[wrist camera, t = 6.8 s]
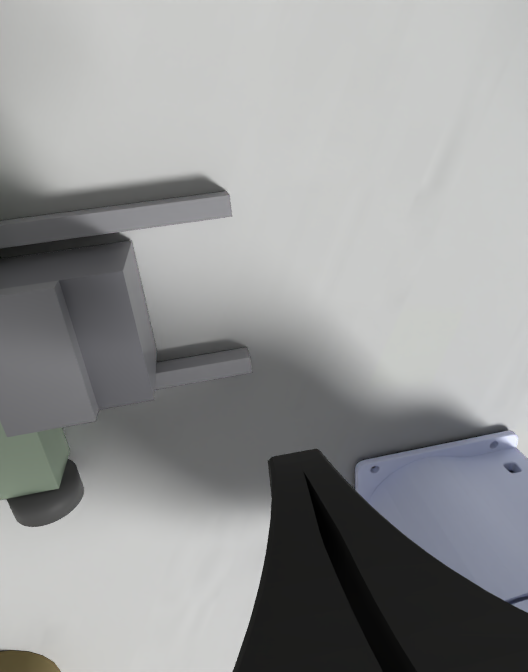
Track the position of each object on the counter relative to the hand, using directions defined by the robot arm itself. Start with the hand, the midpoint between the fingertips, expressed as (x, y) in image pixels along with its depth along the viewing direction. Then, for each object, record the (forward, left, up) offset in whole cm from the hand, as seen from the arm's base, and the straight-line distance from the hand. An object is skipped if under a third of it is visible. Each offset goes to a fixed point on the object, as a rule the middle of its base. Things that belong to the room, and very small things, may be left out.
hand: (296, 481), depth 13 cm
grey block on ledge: (+7, -2, -10) cm, 12 cm away
